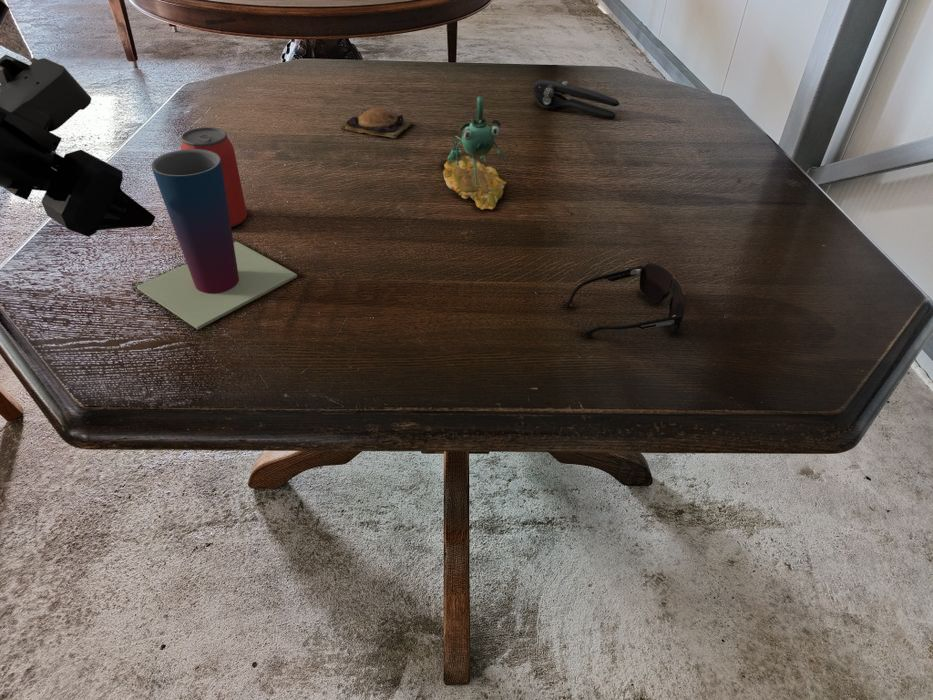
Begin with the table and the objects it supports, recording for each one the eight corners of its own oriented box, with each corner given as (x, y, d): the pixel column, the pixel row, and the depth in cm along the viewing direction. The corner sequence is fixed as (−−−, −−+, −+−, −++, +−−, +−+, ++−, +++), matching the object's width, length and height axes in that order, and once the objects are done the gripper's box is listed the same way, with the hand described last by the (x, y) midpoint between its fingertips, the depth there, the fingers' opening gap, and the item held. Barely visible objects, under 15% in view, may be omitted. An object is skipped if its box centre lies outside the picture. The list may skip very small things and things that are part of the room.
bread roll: (413, 125, 118) (413, 105, 116) (394, 140, 112) (393, 120, 109) (363, 115, 120) (362, 96, 118) (341, 130, 114) (340, 109, 112)
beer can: (202, 235, 84) (180, 148, 76) (194, 213, 88) (172, 129, 80) (252, 225, 86) (235, 140, 79) (242, 205, 91) (225, 122, 83)
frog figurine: (488, 159, 107) (498, 72, 96) (517, 220, 95) (532, 128, 84) (433, 162, 105) (437, 73, 94) (455, 224, 93) (463, 130, 82)
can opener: (526, 109, 127) (529, 80, 123) (536, 99, 132) (539, 71, 128) (612, 125, 122) (618, 95, 118) (619, 114, 127) (625, 85, 123)
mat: (197, 330, 68) (196, 327, 68) (137, 288, 74) (136, 286, 74) (297, 277, 77) (297, 274, 77) (236, 243, 83) (236, 241, 82)
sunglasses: (691, 339, 71) (698, 303, 67) (591, 360, 69) (593, 325, 66) (651, 286, 79) (656, 253, 75) (560, 305, 77) (561, 271, 74)
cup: (223, 260, 79) (195, 143, 69) (258, 280, 76) (234, 161, 66) (175, 283, 74) (137, 162, 65) (209, 305, 71) (175, 182, 62)
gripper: (54, 58, 44) (220, 160, 58) (-56, 11, 53) (113, 111, 67) (-17, 198, 44) (166, 267, 58) (-115, 129, 53) (66, 204, 67)
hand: (126, 206), depth 62 cm, fingers open, 9 cm apart
